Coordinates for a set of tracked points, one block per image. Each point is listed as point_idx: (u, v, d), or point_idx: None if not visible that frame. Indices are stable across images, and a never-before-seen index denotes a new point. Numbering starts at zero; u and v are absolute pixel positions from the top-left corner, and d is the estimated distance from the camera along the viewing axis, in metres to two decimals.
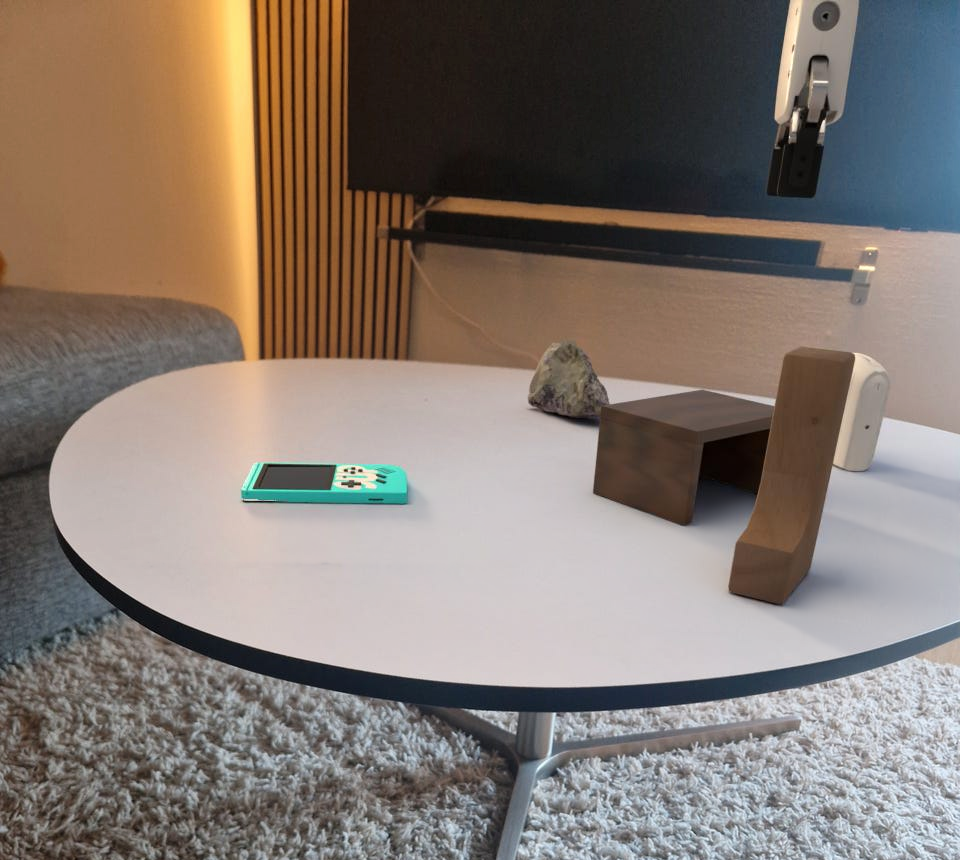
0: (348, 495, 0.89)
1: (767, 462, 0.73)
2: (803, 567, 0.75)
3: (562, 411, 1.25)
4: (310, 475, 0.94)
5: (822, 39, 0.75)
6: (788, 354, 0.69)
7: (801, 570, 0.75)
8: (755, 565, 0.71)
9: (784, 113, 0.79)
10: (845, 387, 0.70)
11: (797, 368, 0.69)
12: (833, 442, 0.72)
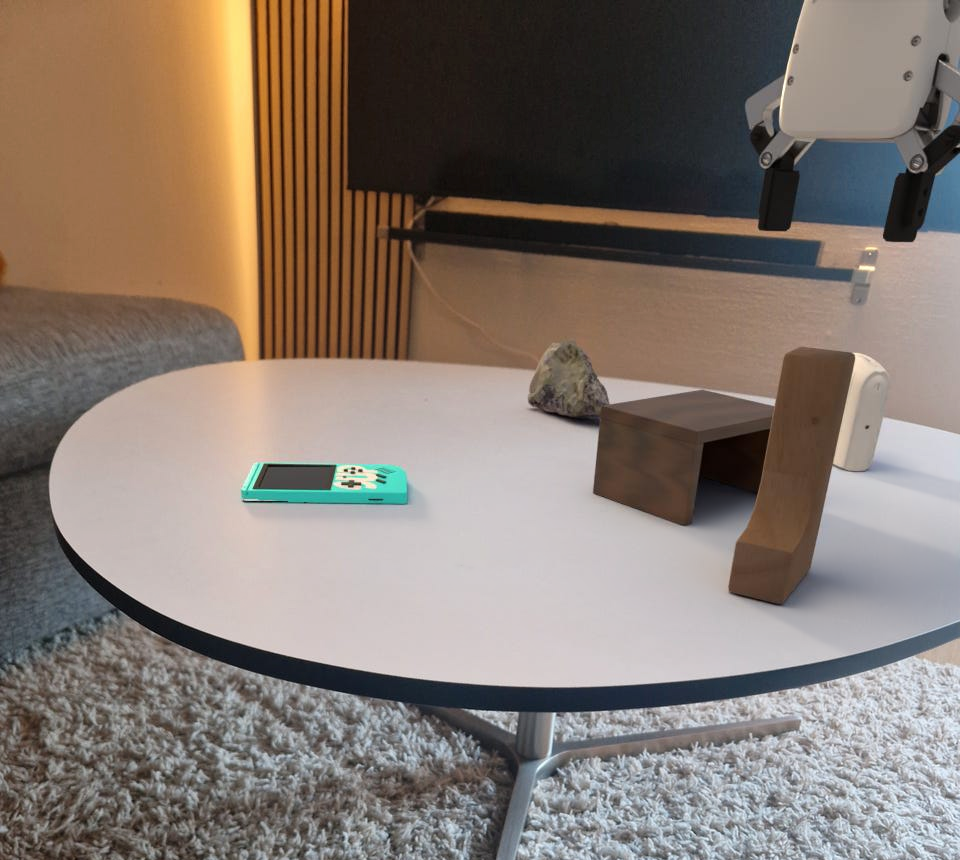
0: (348, 495, 0.89)
1: (767, 462, 0.73)
2: (803, 567, 0.75)
3: (562, 411, 1.25)
4: (310, 475, 0.94)
5: (948, 33, 0.56)
6: (788, 354, 0.69)
7: (801, 570, 0.75)
8: (755, 565, 0.71)
9: (892, 129, 0.58)
10: (845, 387, 0.70)
11: (797, 368, 0.69)
12: (833, 442, 0.72)
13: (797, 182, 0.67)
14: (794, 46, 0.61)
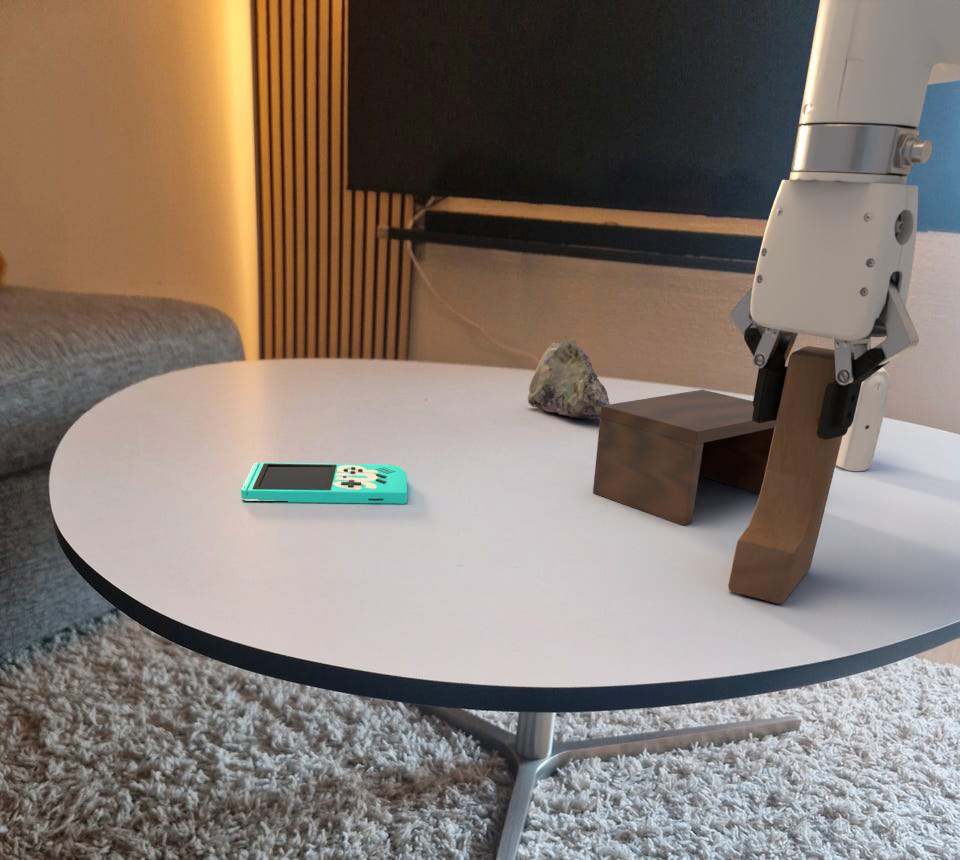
0: (348, 495, 0.89)
1: (770, 461, 0.72)
2: (803, 567, 0.75)
3: (562, 411, 1.25)
4: (310, 475, 0.94)
5: (900, 254, 0.61)
6: (794, 353, 0.69)
7: (801, 570, 0.75)
8: (756, 564, 0.71)
9: (851, 335, 0.63)
10: None
11: (803, 368, 0.69)
12: (837, 443, 0.72)
13: None
14: (762, 249, 0.67)
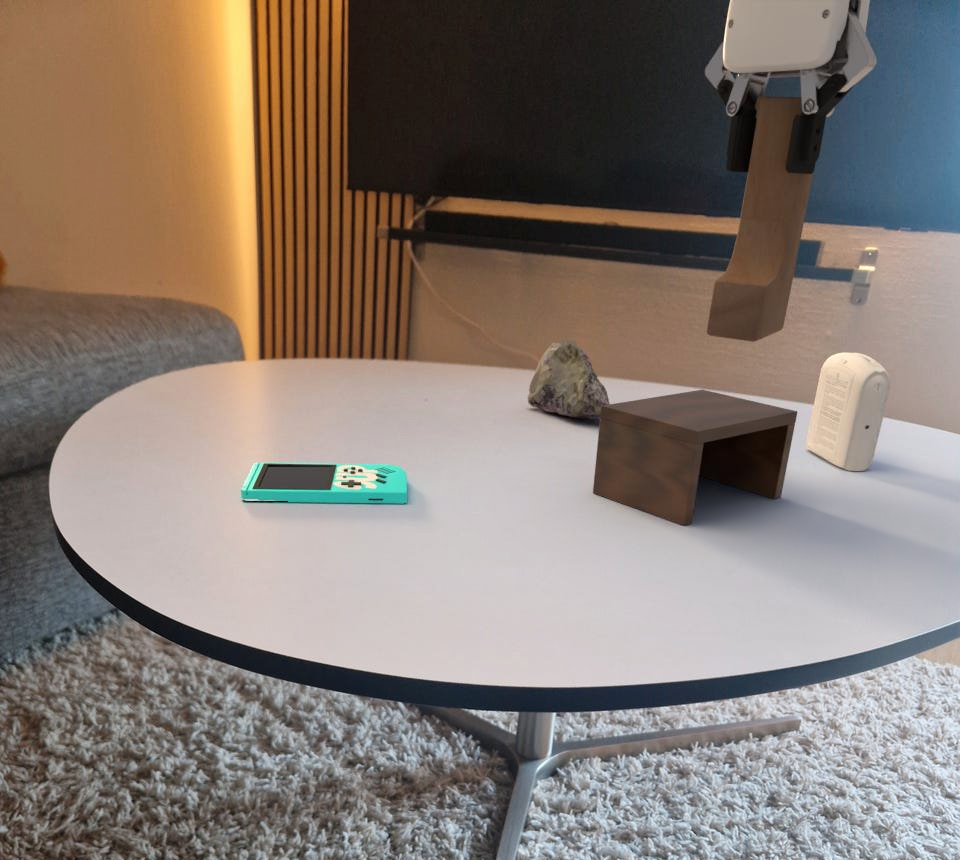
0: (348, 495, 0.89)
1: (744, 210, 0.78)
2: (776, 317, 0.80)
3: (562, 411, 1.25)
4: (310, 475, 0.94)
5: None
6: (764, 98, 0.74)
7: (774, 318, 0.80)
8: (732, 303, 0.77)
9: (815, 60, 0.69)
10: None
11: (772, 111, 0.74)
12: (805, 190, 0.77)
13: None
14: None
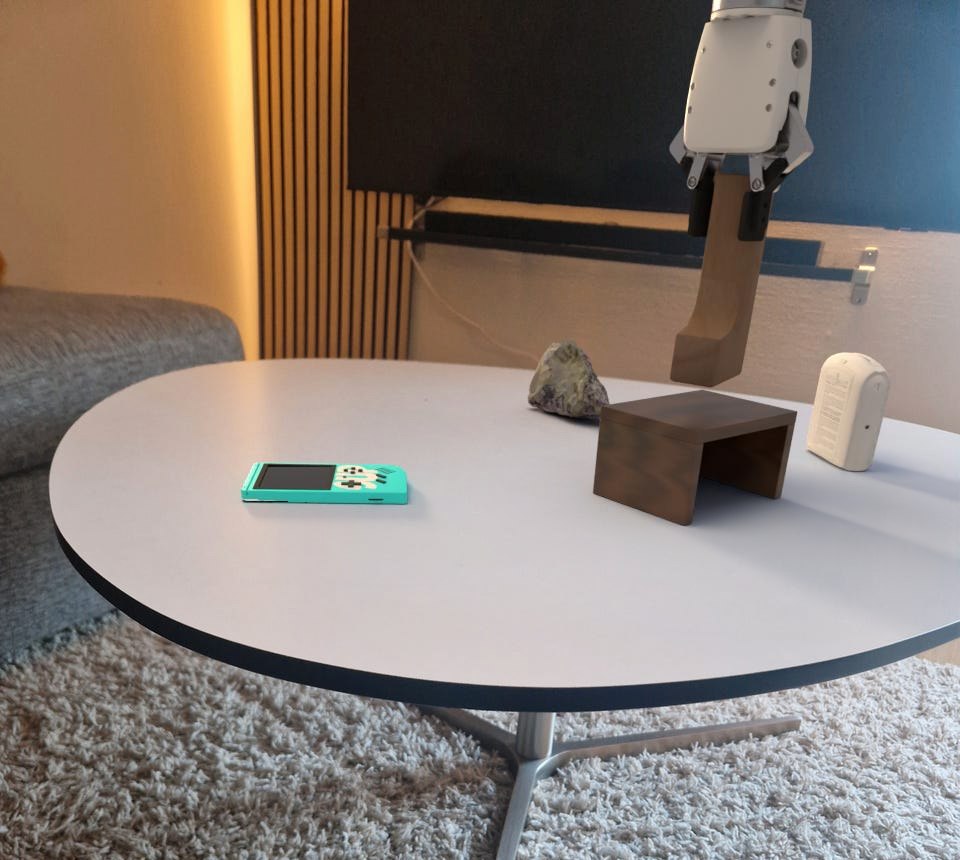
0: (348, 495, 0.89)
1: (703, 271, 0.88)
2: (733, 364, 0.90)
3: (562, 411, 1.25)
4: (310, 475, 0.94)
5: (797, 76, 0.76)
6: (719, 174, 0.84)
7: (731, 365, 0.90)
8: (691, 353, 0.86)
9: (760, 146, 0.79)
10: None
11: (726, 185, 0.84)
12: (757, 253, 0.87)
13: None
14: (691, 84, 0.82)
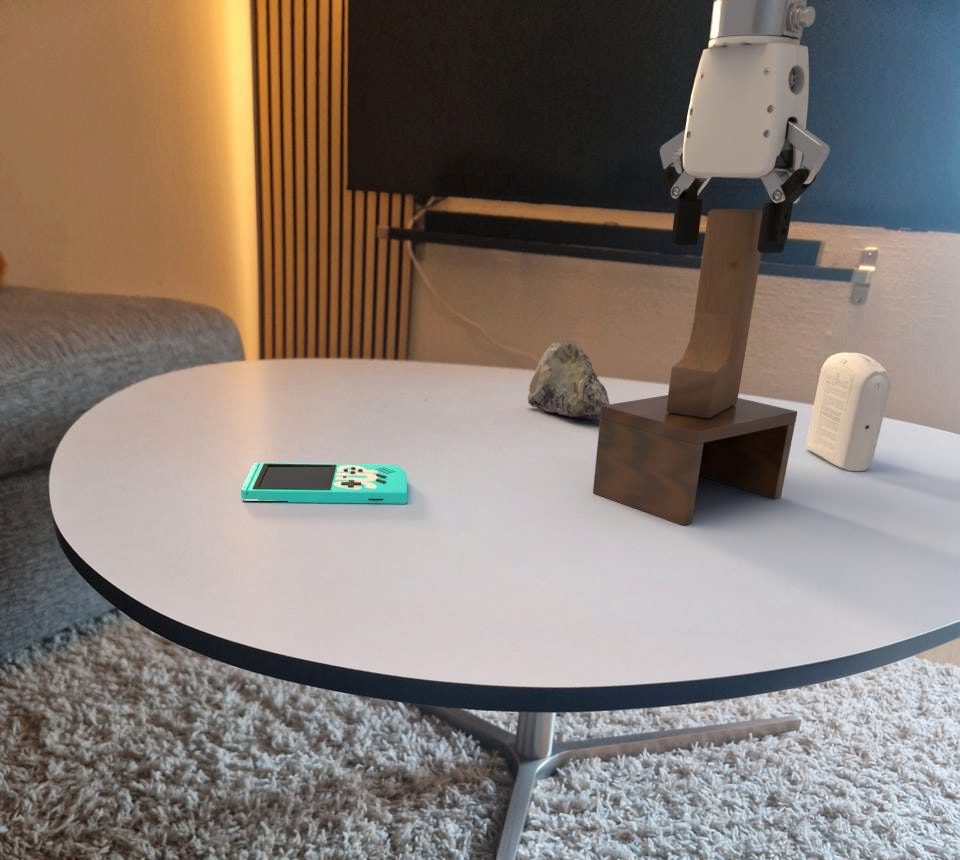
0: (348, 495, 0.89)
1: (697, 304, 0.89)
2: (729, 394, 0.91)
3: (562, 411, 1.25)
4: (310, 475, 0.94)
5: (794, 102, 0.77)
6: (711, 210, 0.85)
7: (727, 396, 0.91)
8: (687, 386, 0.88)
9: (758, 171, 0.79)
10: (758, 238, 0.86)
11: (718, 221, 0.85)
12: (750, 286, 0.88)
13: (700, 208, 0.88)
14: (690, 109, 0.83)
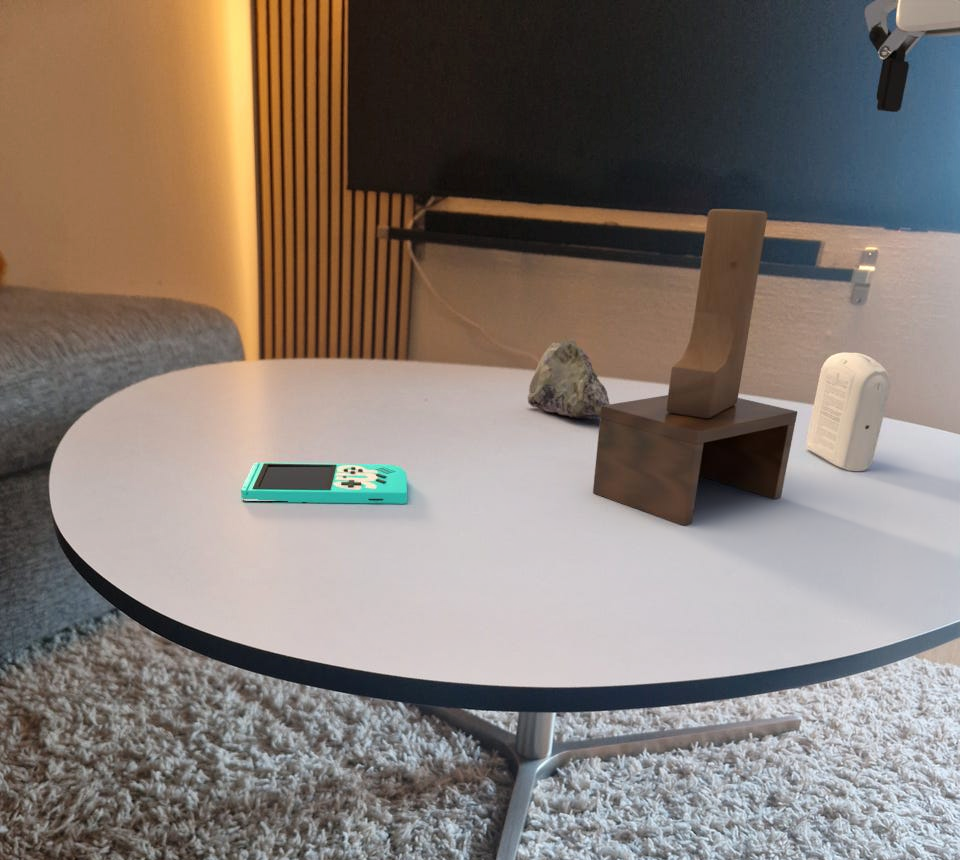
0: (348, 495, 0.89)
1: (698, 304, 0.89)
2: (729, 394, 0.91)
3: (562, 411, 1.25)
4: (310, 475, 0.94)
5: None
6: (711, 210, 0.85)
7: (727, 396, 0.91)
8: (687, 386, 0.88)
9: None
10: (758, 238, 0.86)
11: (718, 221, 0.85)
12: (750, 286, 0.88)
13: (907, 71, 0.85)
14: None
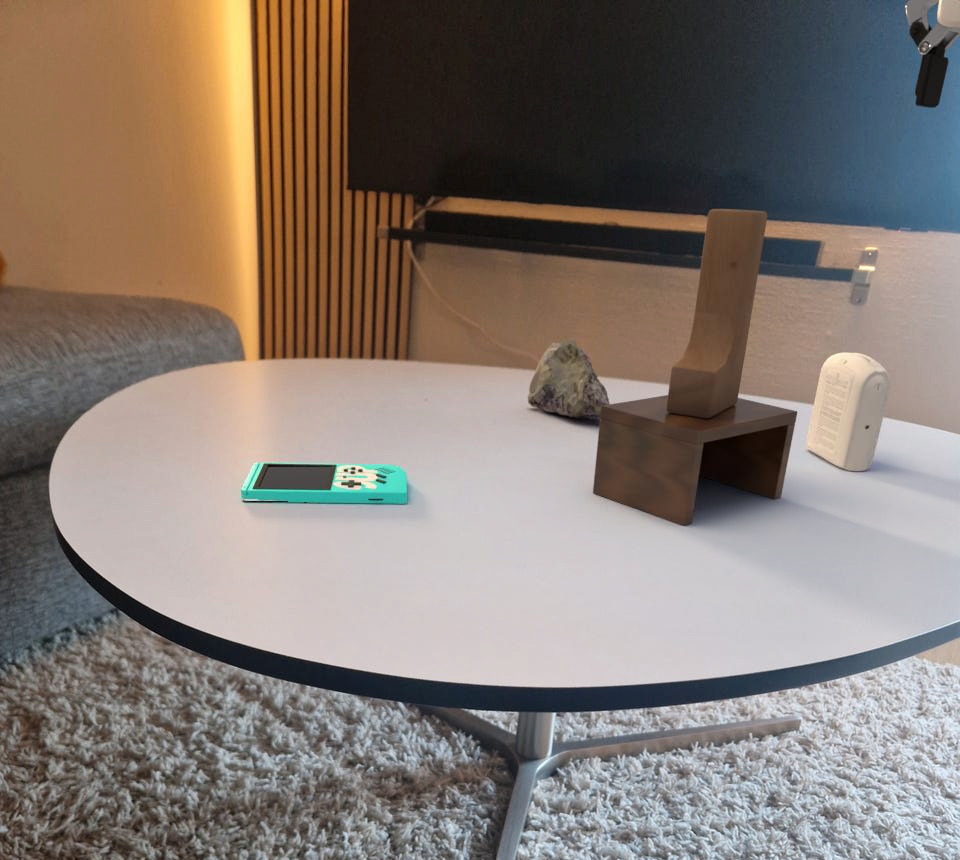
0: (348, 495, 0.89)
1: (698, 304, 0.89)
2: (729, 394, 0.91)
3: (562, 411, 1.25)
4: (310, 475, 0.94)
5: None
6: (711, 210, 0.85)
7: (727, 396, 0.91)
8: (687, 386, 0.88)
9: None
10: (758, 238, 0.86)
11: (718, 221, 0.85)
12: (750, 286, 0.88)
13: (946, 67, 0.85)
14: None
